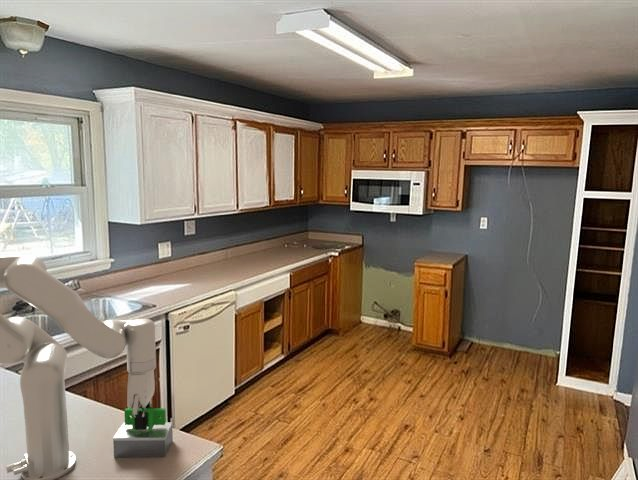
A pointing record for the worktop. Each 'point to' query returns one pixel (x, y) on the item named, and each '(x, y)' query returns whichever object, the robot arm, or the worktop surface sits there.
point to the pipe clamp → (151, 417)
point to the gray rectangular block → (143, 441)
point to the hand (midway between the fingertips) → (143, 424)
